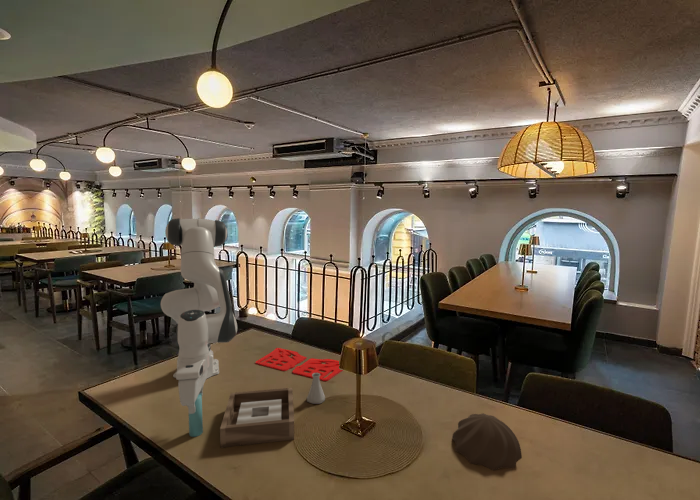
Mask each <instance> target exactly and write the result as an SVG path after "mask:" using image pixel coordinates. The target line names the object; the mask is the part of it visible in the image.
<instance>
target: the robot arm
mask: <svg viewBox="0 0 700 500" xmlns="http://www.w3.org/2000/svg"><path fill="white" fill-rule="evenodd" d="M164 230H165V231H164V232H165V237H166V239H167V242H168V243H169V244H171V245H172V246H177V247H179V246H181V250H180V251H181V252H180V253H181V254H180V275H181V277H182V278H183V279H184V280H186V281H188V282H192V283H193V287H189V288H188V287H187V288H182V289H181V288H180V289H176V290H172V291H169V292H166V293H165V294H164V295H163V296H162V298H161V300H160V309H161V311H162V312H163V314H164V315H166V316H167V317H170V318H171V319H173V321H175V322H176V324H177V325H176V326H175V327H176V329H175V331H176V332H175V335H176V342H177V343H178V346H179V350H178V354H177V356H178V358H177V359H176V360H177V361H176V371H175V373H173V376H172V377H173V378H175V379H176V381H177V380H178V384H177V385H178V396H179V402H180V405H181V406H182V407H185V406H186V407H187V409H188V410H189V412H188V415H189V414H193V413H195V411H196V405H195V401H196V399H197V397H198V395H199V394H200V395H202V397H203V395H204V393H203V392H204V391H203V390H204V384H205V382H206V380H207V379H210V378H211V377H213V376H216V375H219V374H220V367H219V366H220V365H219V363H220V361H219V359H217V358H214V351H213V350H212V349H211V347H212V346H211V344H212V343H213V344H214V343H222V344H223V343H230V342H231V341H232V340H233V339H234V338H235V337H236V336H237V332H238V323H237V319H236V317H235V314H234V312H233V306H232V300H231V296H230V291H229V287H228V283H227V279H226V275H225V272H224V270H223V269H222V268H220V267H218V265H217V264H216V263H217V262H216V259H215V248H216V247H219V246H222V245H224V244H225V243H226V240H227V237H228V229H227V227H226V224H225V223H224V222H223V221H221V220H217V219H213V220H212V219H207V218H180V217H179V218H178V217H177V218H171V219H170V220H169V221H168V224H167V225H166V226H165V229H164ZM217 308H219V312H218V313H210V314H206V313H205V312H208V311H212V310H215V309H217Z"/></svg>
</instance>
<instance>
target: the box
mask: <svg viewBox="0 0 700 500" xmlns="http://www.w3.org/2000/svg"><path fill="white" fill-rule="evenodd" d="M293 393H294V392H293V387H287V388H286V387H284V388H273V389H272V388H271V389H263V390H247V391H239V392H237V391H236V392H230V395H229V398H228V400H227V405H226V408H225V411H224V415H223V419H222V420H221V425H220V426H219V433H220V434H219V435H220V437H219V440H220V441H219V443H220V448H231V447H240V446H241V447H242V446H248V445H257V444H267V443H274V442H283V441H284V442H286V441H292V440H295V416H294V415H295V412H294V398H293V397H294V396H293Z"/></svg>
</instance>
